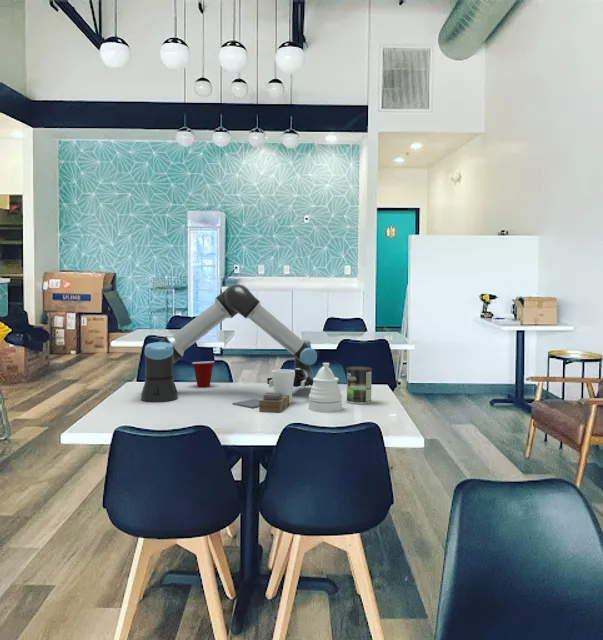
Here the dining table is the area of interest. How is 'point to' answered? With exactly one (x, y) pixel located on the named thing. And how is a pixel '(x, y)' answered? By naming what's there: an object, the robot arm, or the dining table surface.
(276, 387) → the foam cup
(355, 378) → the coffee can
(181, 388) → the dining table surface
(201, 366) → the plastic cup
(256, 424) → the dining table surface
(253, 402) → the coaster
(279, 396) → the walnut block
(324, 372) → the honey pot
